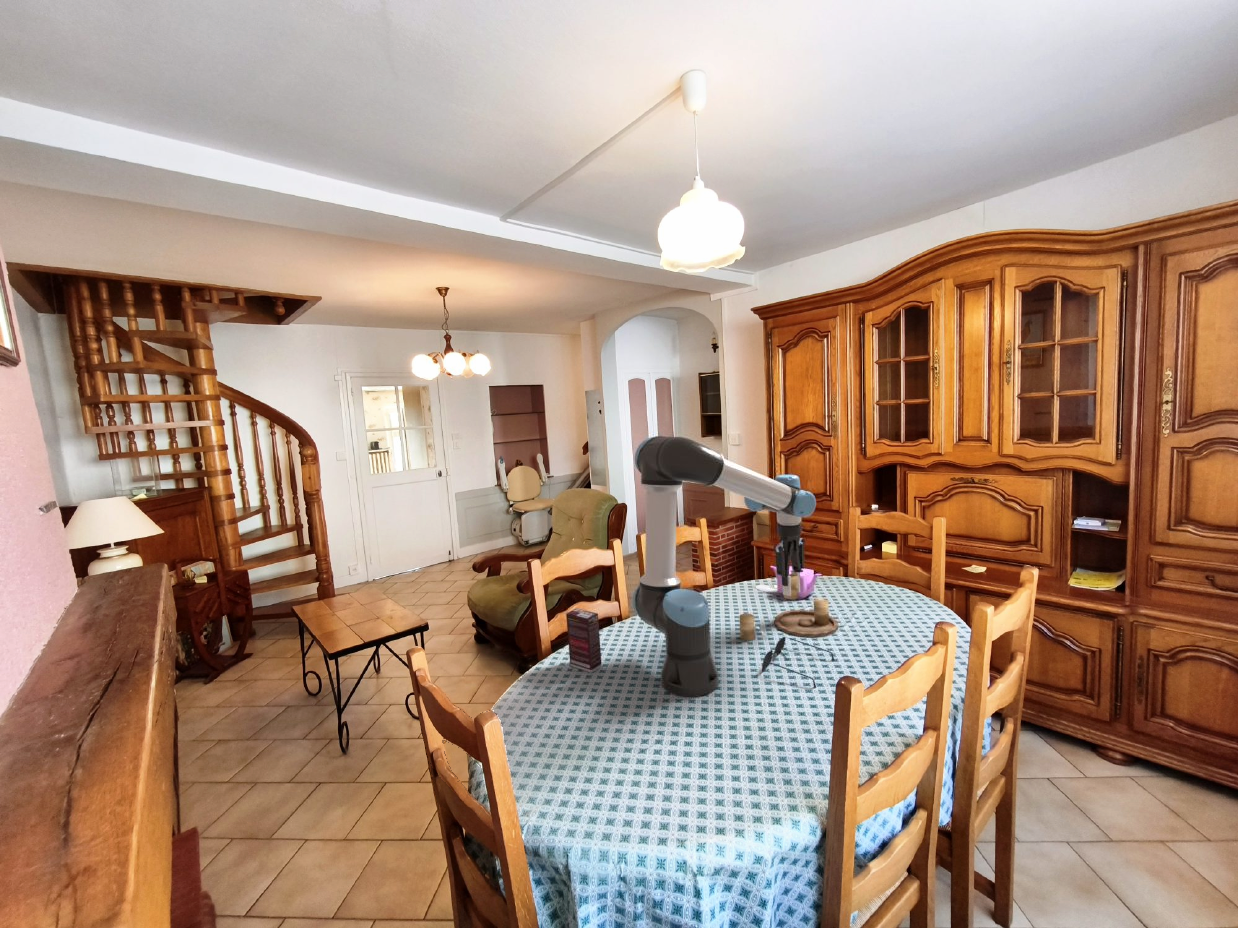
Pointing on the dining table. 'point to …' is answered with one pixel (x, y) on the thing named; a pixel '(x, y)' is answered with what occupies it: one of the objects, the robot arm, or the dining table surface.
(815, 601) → the bead seated
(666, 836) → the dining table surface
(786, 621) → the tray
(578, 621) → the supplement box
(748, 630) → the bead
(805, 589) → the teapot
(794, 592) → the bead
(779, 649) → the sunglasses
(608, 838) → the dining table surface
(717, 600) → the dining table surface
